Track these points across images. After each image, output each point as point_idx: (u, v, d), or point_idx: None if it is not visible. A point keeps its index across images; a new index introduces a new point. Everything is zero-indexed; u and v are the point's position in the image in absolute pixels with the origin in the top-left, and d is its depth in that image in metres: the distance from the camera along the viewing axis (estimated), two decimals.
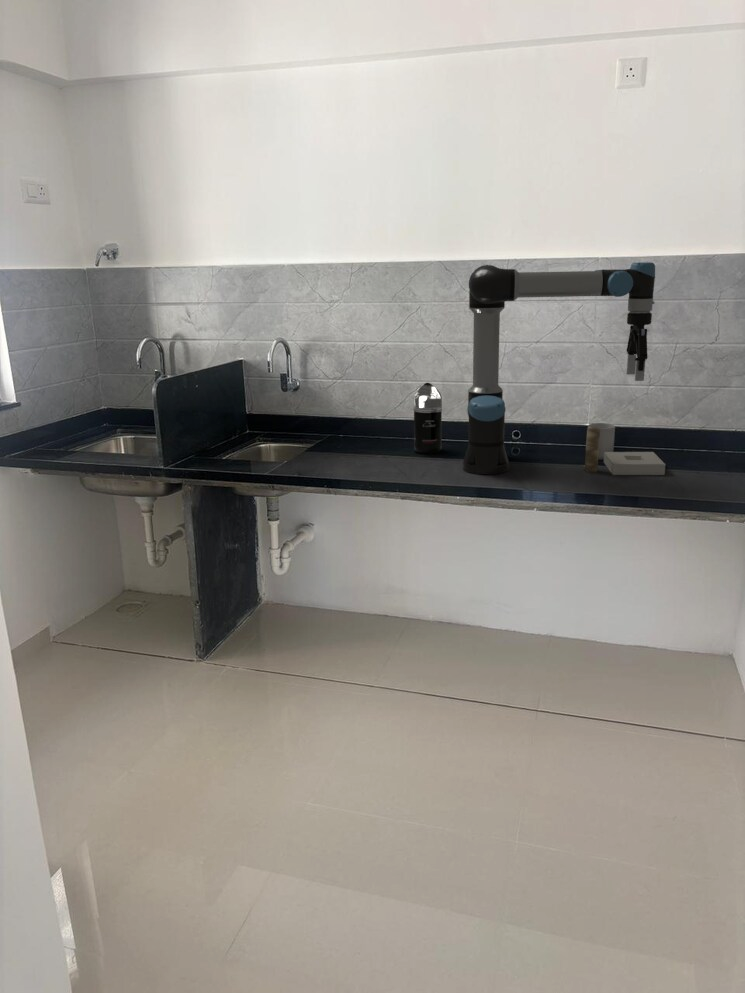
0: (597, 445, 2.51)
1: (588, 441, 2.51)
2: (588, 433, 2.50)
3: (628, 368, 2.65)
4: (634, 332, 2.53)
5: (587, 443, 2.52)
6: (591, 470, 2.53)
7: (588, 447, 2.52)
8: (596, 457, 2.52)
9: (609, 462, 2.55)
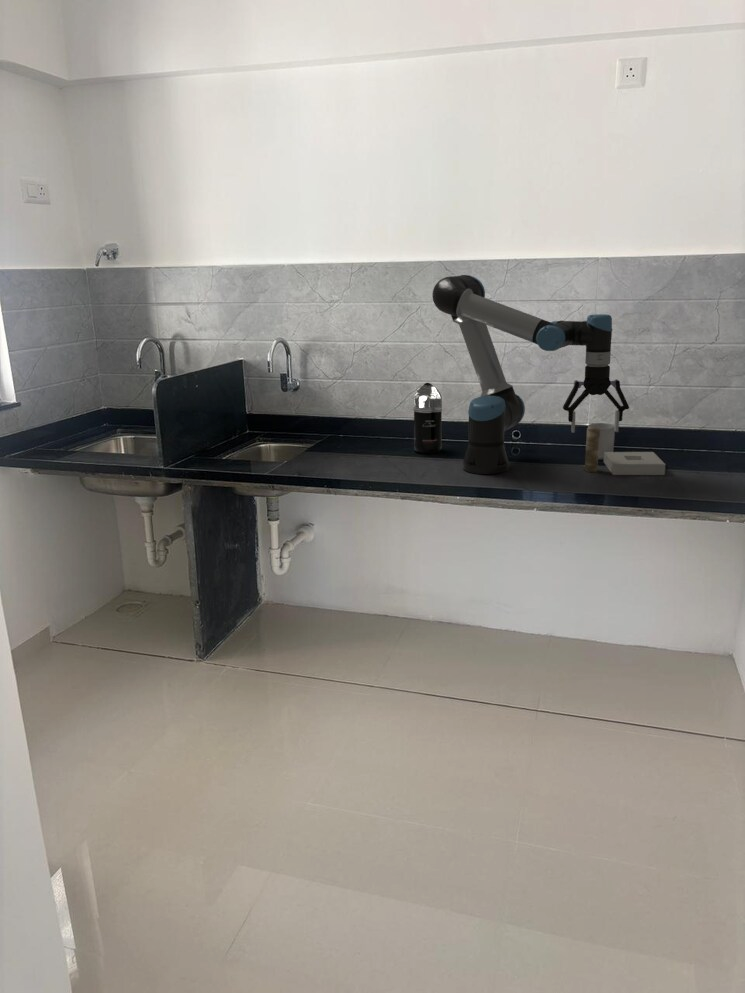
0: (597, 445, 2.51)
1: (588, 441, 2.51)
2: (588, 433, 2.50)
3: None
4: None
5: (587, 443, 2.52)
6: (591, 470, 2.53)
7: (588, 447, 2.52)
8: (596, 457, 2.52)
9: (609, 462, 2.55)
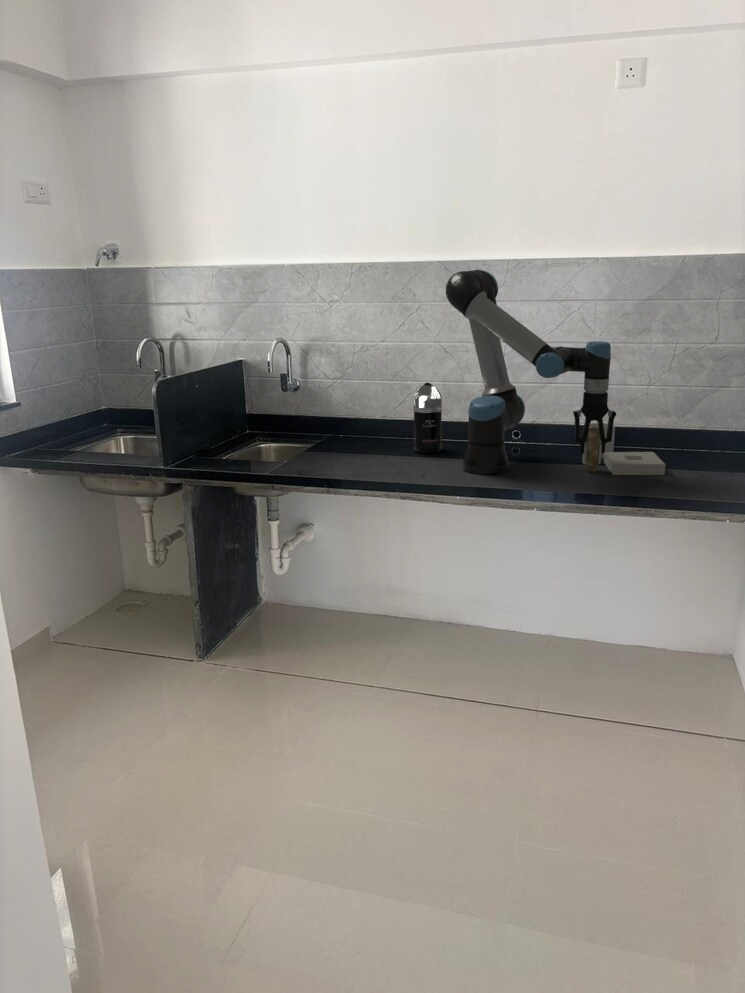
0: (597, 445, 2.51)
1: (588, 441, 2.51)
2: (588, 433, 2.50)
3: None
4: None
5: (587, 443, 2.52)
6: (591, 470, 2.53)
7: (588, 447, 2.52)
8: (596, 457, 2.52)
9: (609, 462, 2.55)
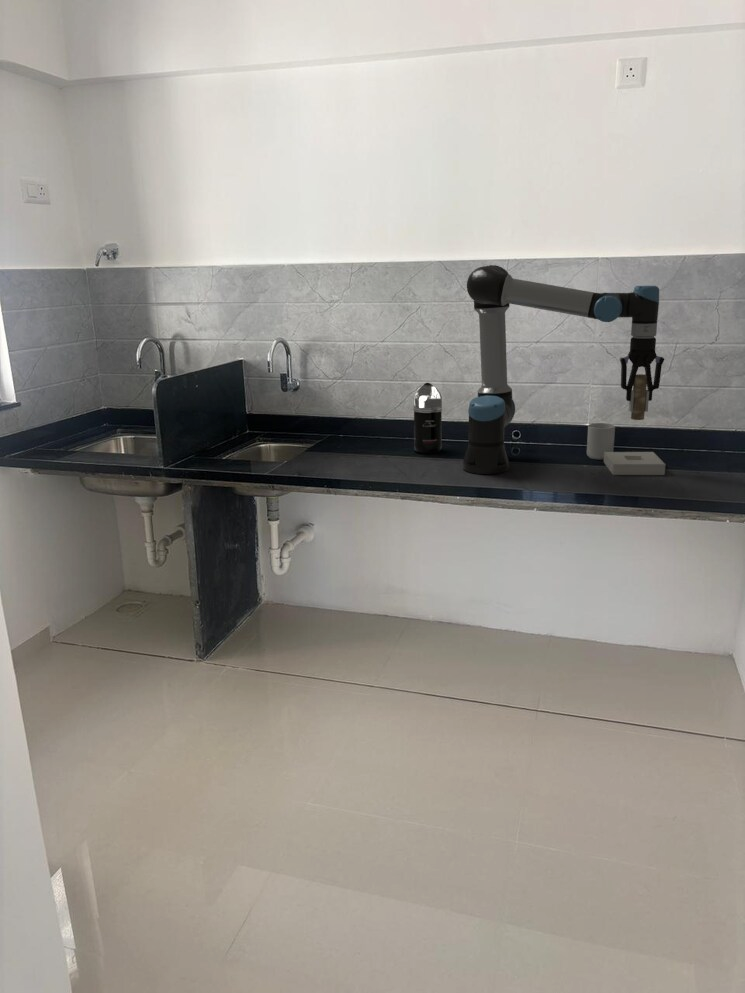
0: (644, 392, 2.47)
1: (635, 388, 2.47)
2: (635, 380, 2.47)
3: None
4: None
5: (634, 390, 2.48)
6: (638, 418, 2.49)
7: (635, 394, 2.48)
8: (643, 404, 2.48)
9: (609, 462, 2.55)
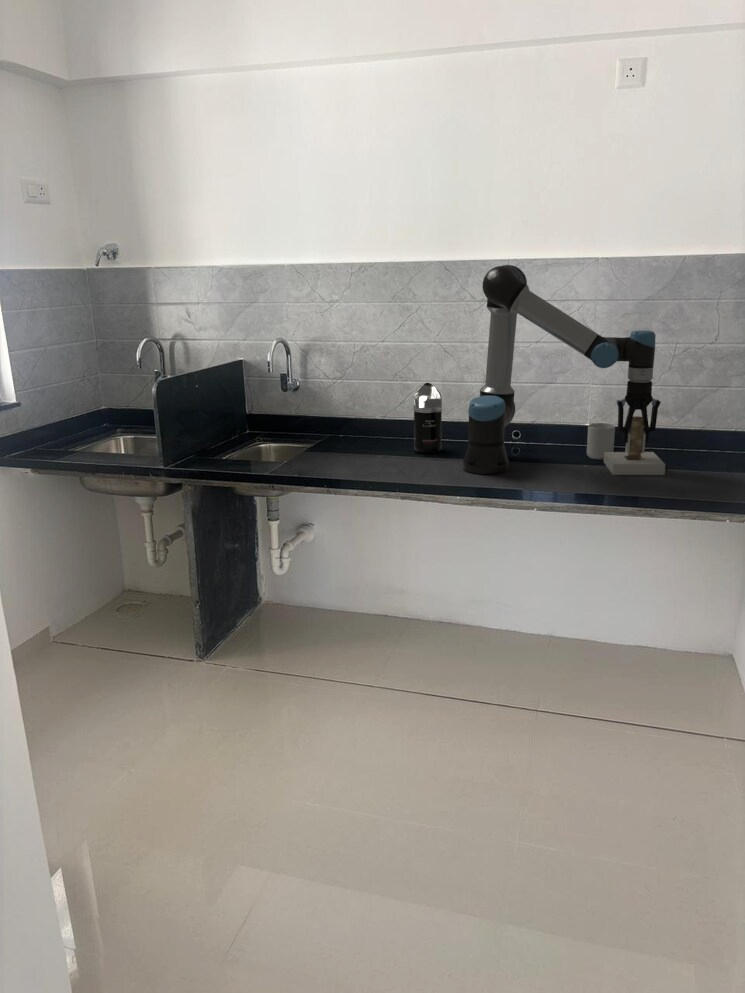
0: (641, 434, 2.51)
1: (632, 430, 2.51)
2: (632, 422, 2.51)
3: None
4: None
5: (631, 432, 2.52)
6: (635, 459, 2.53)
7: (631, 436, 2.52)
8: (640, 446, 2.52)
9: (609, 462, 2.55)
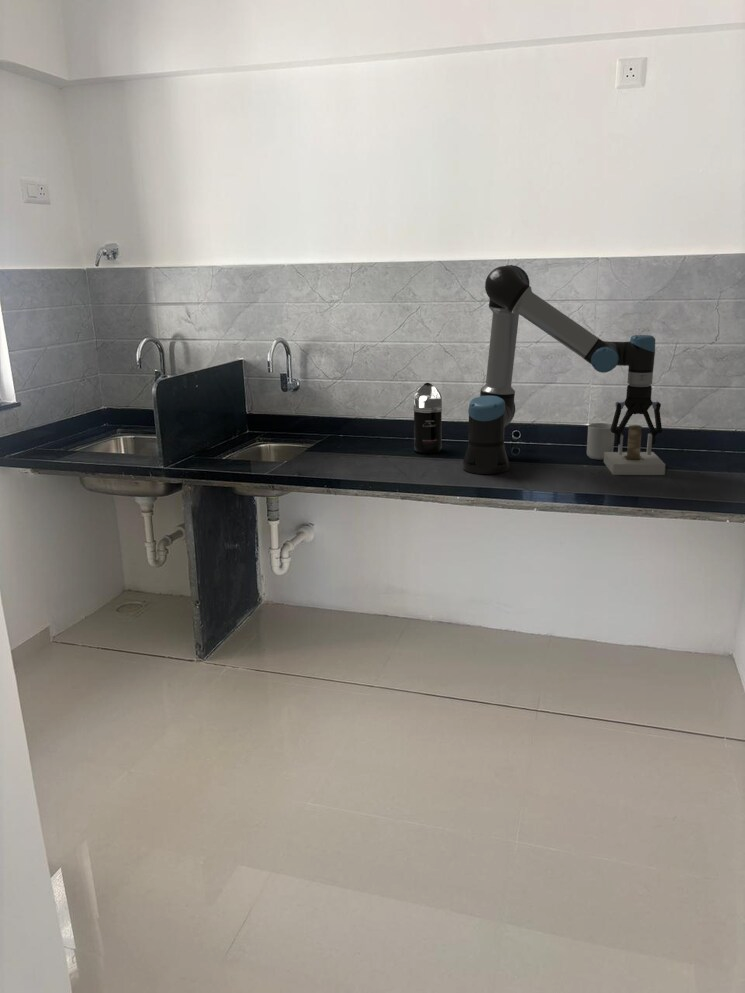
0: (639, 443, 2.52)
1: (630, 439, 2.52)
2: (630, 431, 2.52)
3: (647, 447, 2.55)
4: None
5: (629, 441, 2.53)
6: None
7: (629, 445, 2.53)
8: (638, 455, 2.53)
9: (609, 462, 2.55)
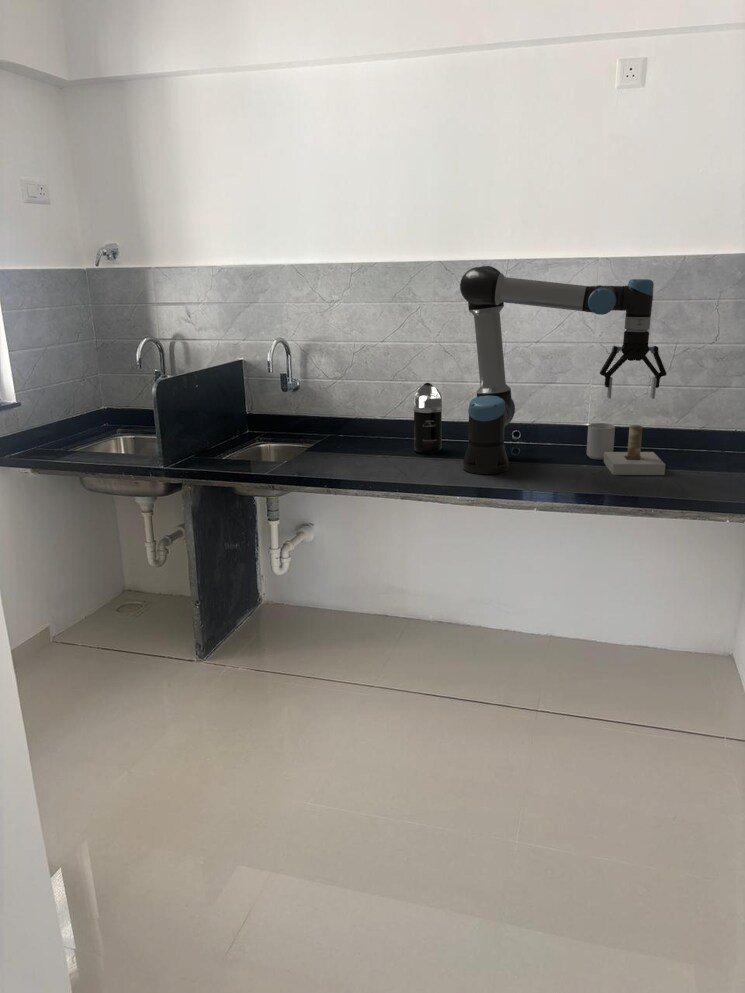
0: (639, 443, 2.52)
1: (630, 439, 2.52)
2: (631, 431, 2.52)
3: (651, 391, 2.50)
4: None
5: (629, 441, 2.53)
6: None
7: (630, 445, 2.53)
8: (638, 455, 2.53)
9: (609, 462, 2.55)
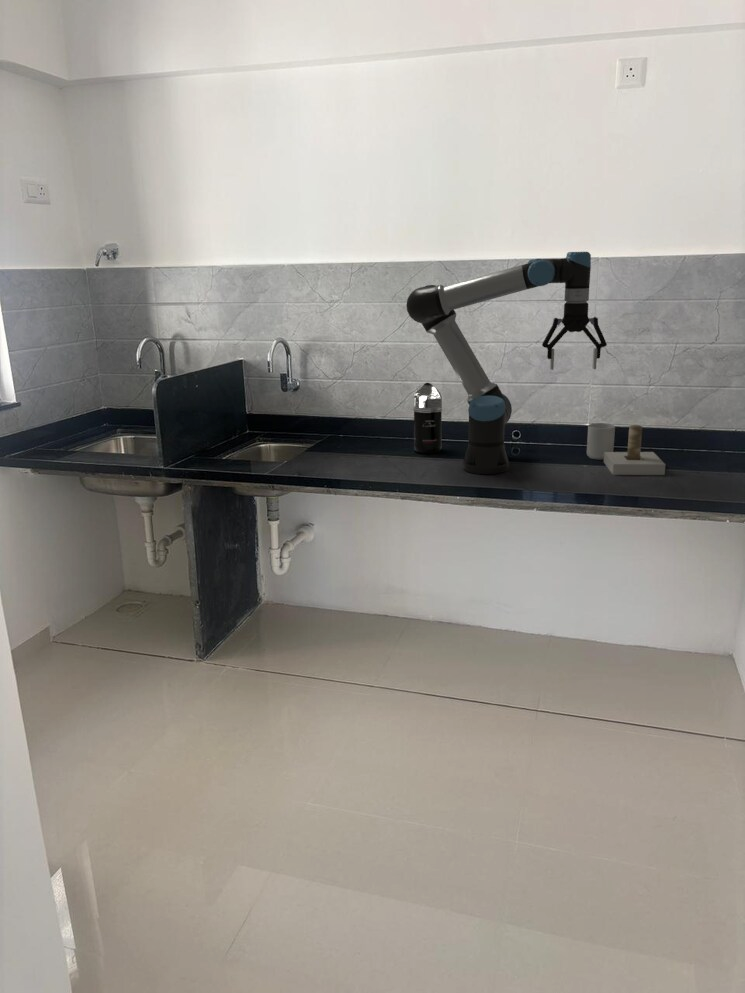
0: (639, 443, 2.52)
1: (630, 439, 2.52)
2: (631, 431, 2.52)
3: None
4: None
5: (629, 441, 2.53)
6: None
7: (630, 445, 2.53)
8: (638, 455, 2.53)
9: (609, 462, 2.55)
